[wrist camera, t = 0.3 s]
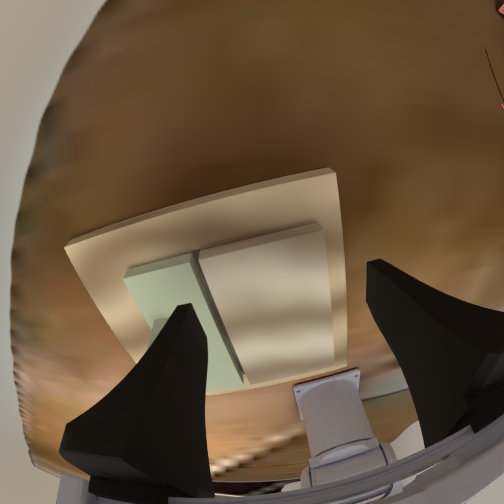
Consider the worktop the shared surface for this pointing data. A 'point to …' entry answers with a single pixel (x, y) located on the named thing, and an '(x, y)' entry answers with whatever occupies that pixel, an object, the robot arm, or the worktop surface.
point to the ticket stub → (177, 293)
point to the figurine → (503, 10)
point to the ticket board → (207, 234)
